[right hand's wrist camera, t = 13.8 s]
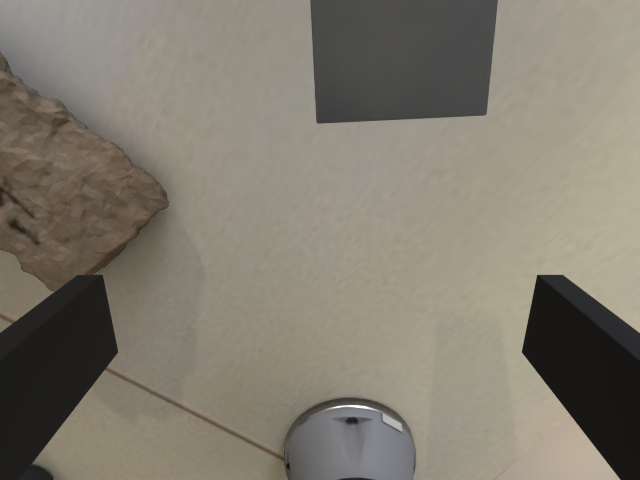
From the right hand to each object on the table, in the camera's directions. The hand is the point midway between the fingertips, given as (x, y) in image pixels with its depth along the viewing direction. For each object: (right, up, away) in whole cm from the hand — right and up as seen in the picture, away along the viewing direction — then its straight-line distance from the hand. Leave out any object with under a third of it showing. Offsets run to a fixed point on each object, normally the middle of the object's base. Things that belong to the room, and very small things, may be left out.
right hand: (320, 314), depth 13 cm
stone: (-25, +9, +24) cm, 36 cm away
